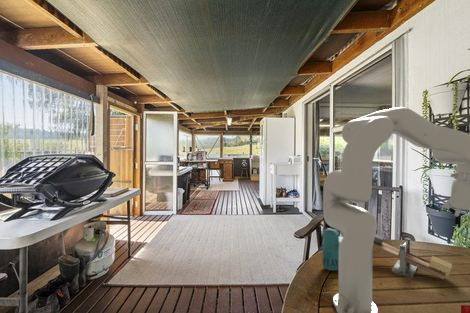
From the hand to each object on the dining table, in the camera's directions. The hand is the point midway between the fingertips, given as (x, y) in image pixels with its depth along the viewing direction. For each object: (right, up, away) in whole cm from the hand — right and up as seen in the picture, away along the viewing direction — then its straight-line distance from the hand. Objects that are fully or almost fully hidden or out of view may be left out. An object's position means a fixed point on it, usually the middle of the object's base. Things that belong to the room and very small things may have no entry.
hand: (469, 228), depth 87 cm
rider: (-6, -18, +6) cm, 20 cm away
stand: (-14, -21, +14) cm, 28 cm away
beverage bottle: (-45, -21, +13) cm, 51 cm away
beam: (-14, -16, +14) cm, 26 cm away
